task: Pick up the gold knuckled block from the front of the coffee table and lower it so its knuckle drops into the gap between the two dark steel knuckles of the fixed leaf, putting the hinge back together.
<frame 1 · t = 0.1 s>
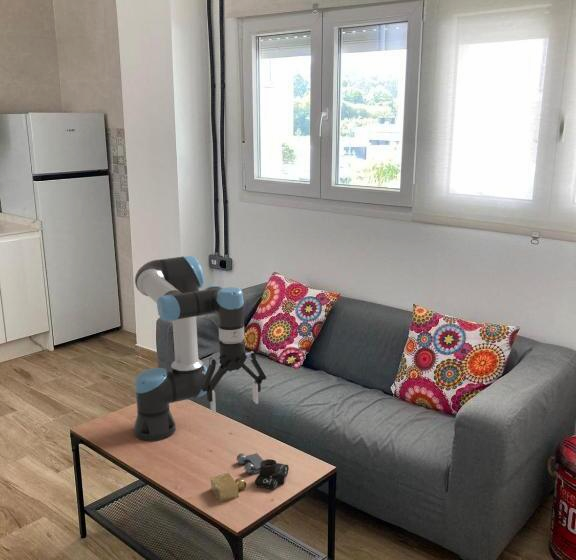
hand: (234, 406, 195), 28 cm above the table, tool pointing down, fingers open, 13 cm apart
steel hinge leaf: (246, 467, 213), on the table
film camera: (272, 480, 206), on the table
gold knuckled block: (226, 492, 199), on the table
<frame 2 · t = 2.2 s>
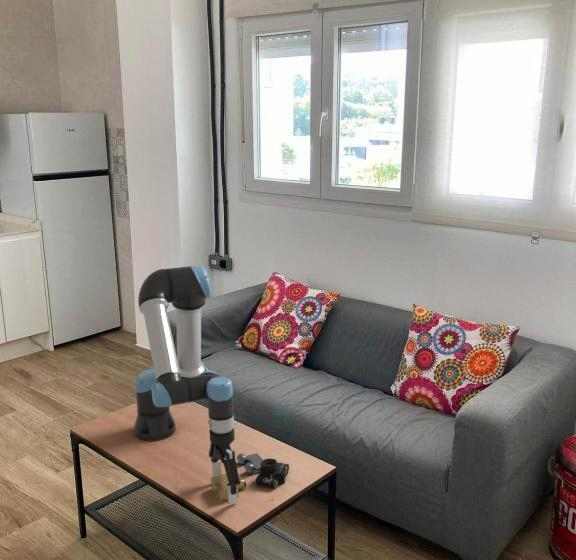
hand: (224, 491, 199), 1 cm above the table, tool pointing down, fingers open, 13 cm apart
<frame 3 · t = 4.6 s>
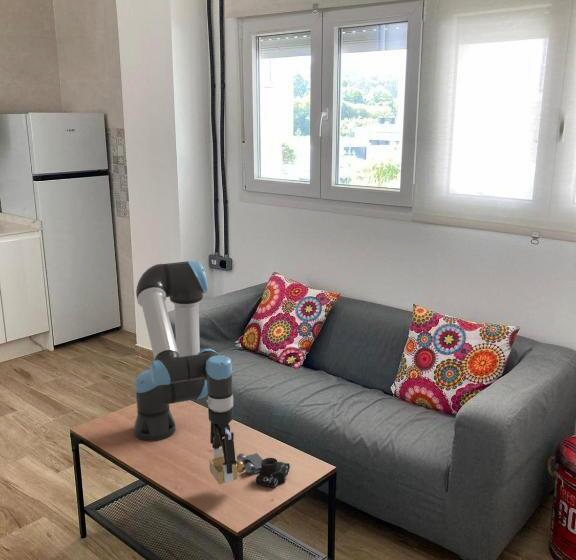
hand: (223, 474, 198), 6 cm above the table, tool pointing down, fingers closed on gold knuckled block, 8 cm apart
gold knuckled block: (225, 474, 198), point 6 cm above the table, touching gripper
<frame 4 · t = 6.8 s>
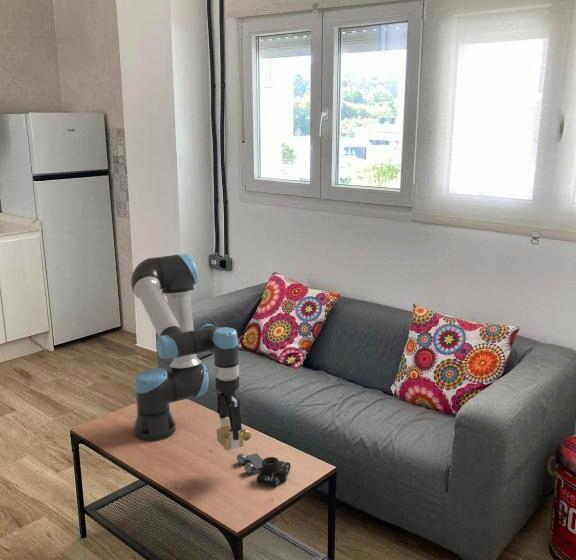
hand: (230, 442, 208), 11 cm above the table, tool pointing down, fingers closed on gold knuckled block, 8 cm apart
gold knuckled block: (231, 442, 208), point 11 cm above the table, touching gripper
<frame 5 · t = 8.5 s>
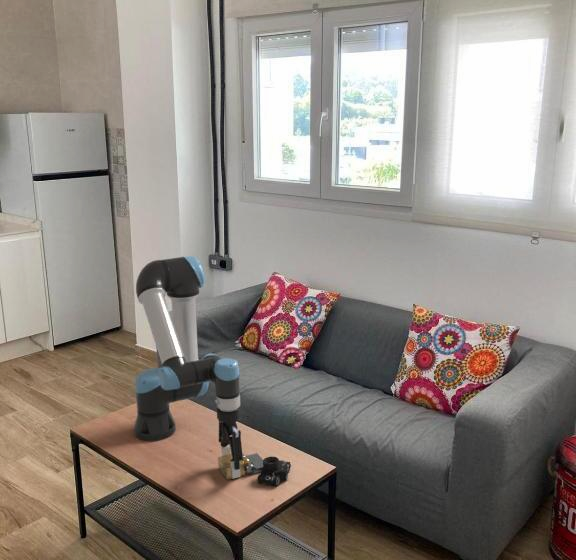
hand: (231, 470, 210), 1 cm above the table, tool pointing down, fingers closed on gold knuckled block, 8 cm apart
gold knuckled block: (232, 471, 211), on the table, touching gripper
when the fingers open (0 cm above the table, at t = 9.4 s): gold knuckled block stays where it is, on the table.
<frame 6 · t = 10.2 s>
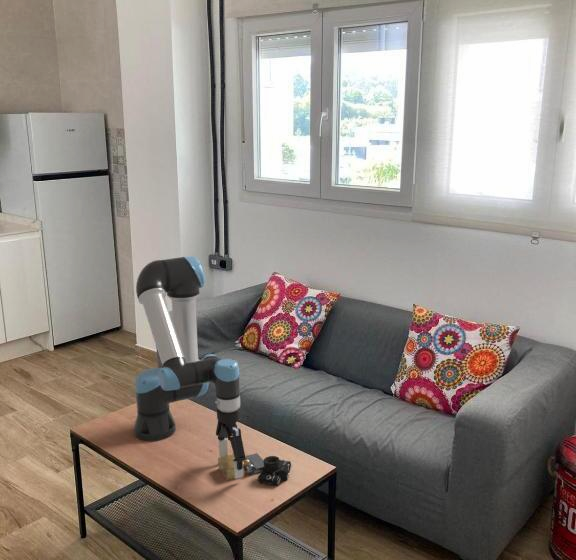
hand: (231, 467, 210), 2 cm above the table, tool pointing down, fingers open, 13 cm apart
gold knuckled block: (232, 471, 211), on the table
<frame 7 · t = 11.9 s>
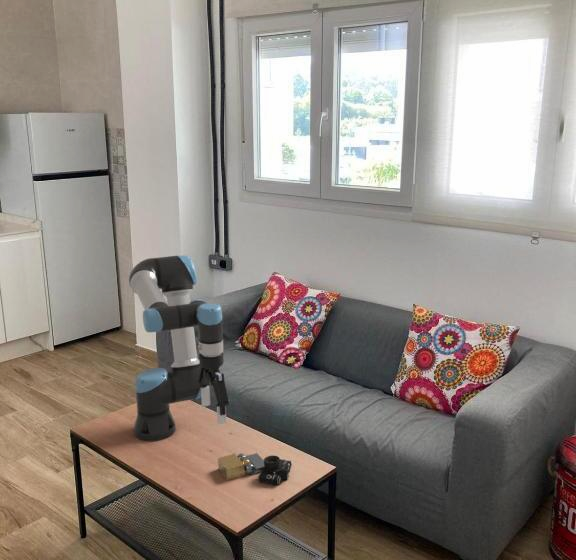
hand: (213, 414, 207), 20 cm above the table, tool pointing down, fingers open, 13 cm apart
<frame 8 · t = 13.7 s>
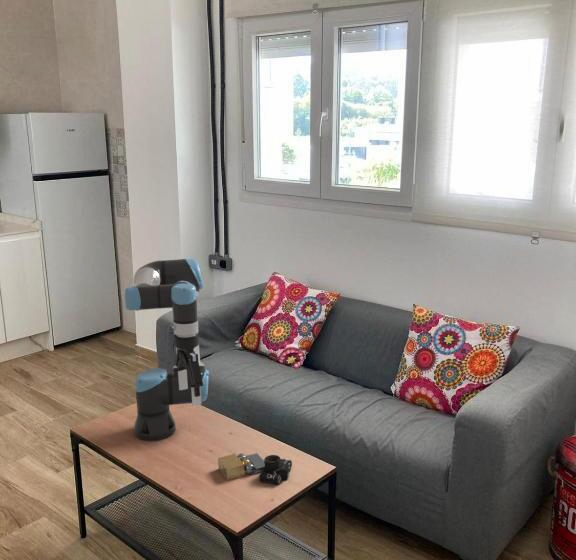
hand: (190, 397, 204), 27 cm above the table, tool pointing down, fingers open, 13 cm apart
at the end: gold knuckled block 0.0 cm from the target spot on the steel hinge leaf, point 0.0 cm above the steel hinge leaf's base; gold knuckled block tilted 1°; the gripper is holding nothing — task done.
